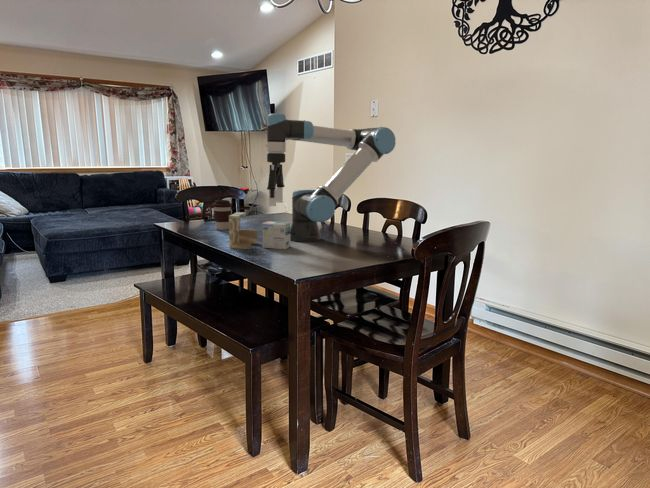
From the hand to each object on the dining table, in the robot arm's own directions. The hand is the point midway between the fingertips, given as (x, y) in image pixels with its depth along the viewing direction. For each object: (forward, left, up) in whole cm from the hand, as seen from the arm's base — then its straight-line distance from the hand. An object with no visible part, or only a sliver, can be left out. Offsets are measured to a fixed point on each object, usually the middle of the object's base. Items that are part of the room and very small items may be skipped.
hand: (276, 204), depth 191 cm
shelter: (-1, -14, -19) cm, 23 cm away
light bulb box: (0, 0, -19) cm, 19 cm away
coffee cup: (-40, -37, -19) cm, 58 cm away
